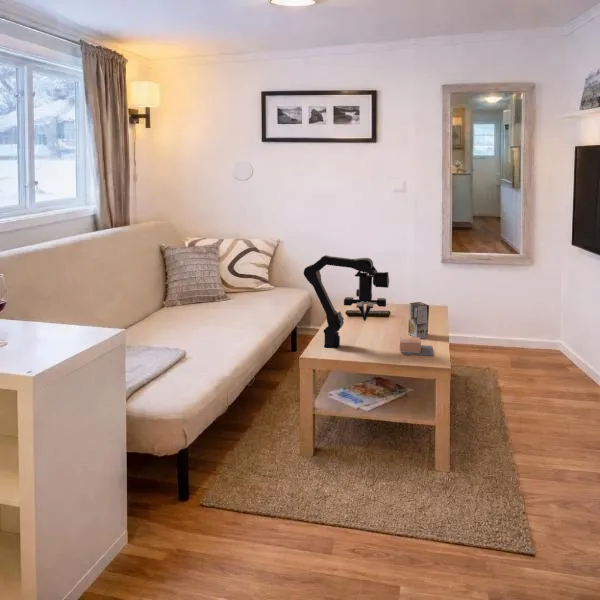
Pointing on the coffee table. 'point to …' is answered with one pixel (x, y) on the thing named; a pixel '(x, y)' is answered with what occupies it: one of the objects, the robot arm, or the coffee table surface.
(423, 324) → the coffee box
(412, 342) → the pinkish brown block
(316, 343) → the coffee table surface
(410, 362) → the coffee table surface
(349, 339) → the coffee table surface
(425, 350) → the mat
